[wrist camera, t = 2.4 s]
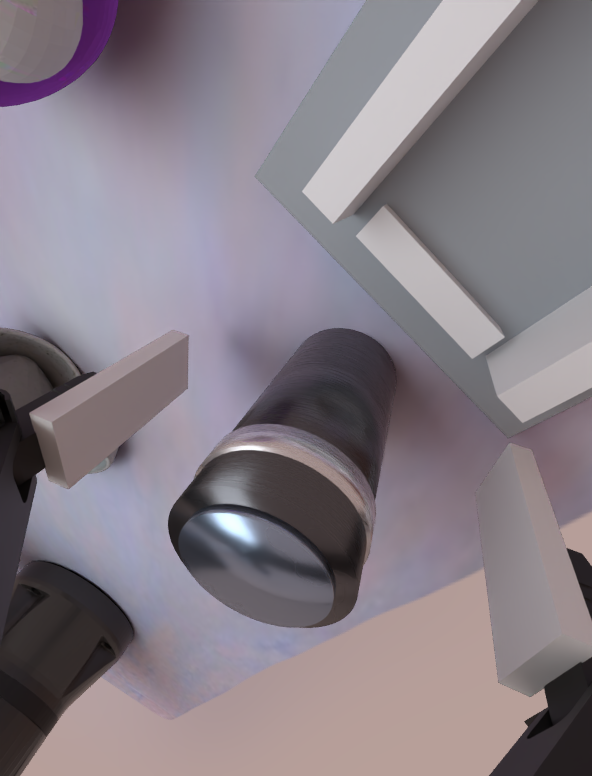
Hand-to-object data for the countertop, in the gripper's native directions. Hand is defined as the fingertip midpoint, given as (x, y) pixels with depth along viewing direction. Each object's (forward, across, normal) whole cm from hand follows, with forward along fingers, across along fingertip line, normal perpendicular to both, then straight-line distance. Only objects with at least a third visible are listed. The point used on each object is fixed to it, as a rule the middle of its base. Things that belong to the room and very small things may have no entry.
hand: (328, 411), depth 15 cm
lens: (+3, 0, 0) cm, 3 cm away
